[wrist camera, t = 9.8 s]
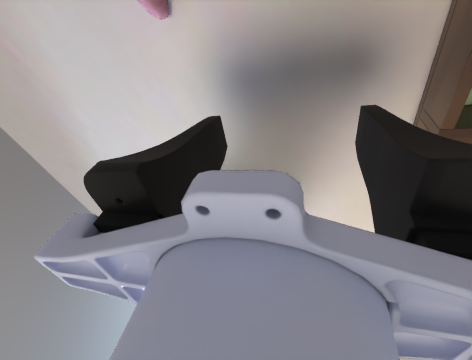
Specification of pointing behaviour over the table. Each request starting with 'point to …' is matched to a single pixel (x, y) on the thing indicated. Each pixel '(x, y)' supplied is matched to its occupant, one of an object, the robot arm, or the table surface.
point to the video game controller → (156, 7)
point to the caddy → (450, 80)
